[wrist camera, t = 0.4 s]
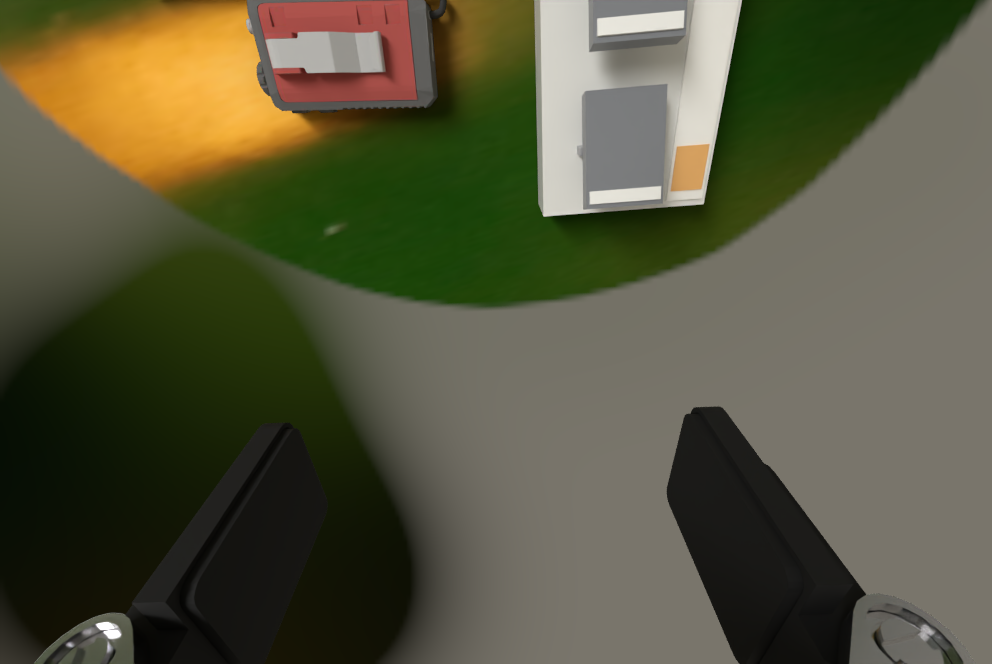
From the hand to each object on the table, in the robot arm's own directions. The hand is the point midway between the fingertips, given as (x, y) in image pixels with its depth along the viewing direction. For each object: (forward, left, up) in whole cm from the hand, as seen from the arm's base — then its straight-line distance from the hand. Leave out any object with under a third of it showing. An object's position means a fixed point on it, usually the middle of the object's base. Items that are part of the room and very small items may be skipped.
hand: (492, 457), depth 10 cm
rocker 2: (-4, +9, -22) cm, 24 cm away
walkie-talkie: (-12, -12, -28) cm, 33 cm away
